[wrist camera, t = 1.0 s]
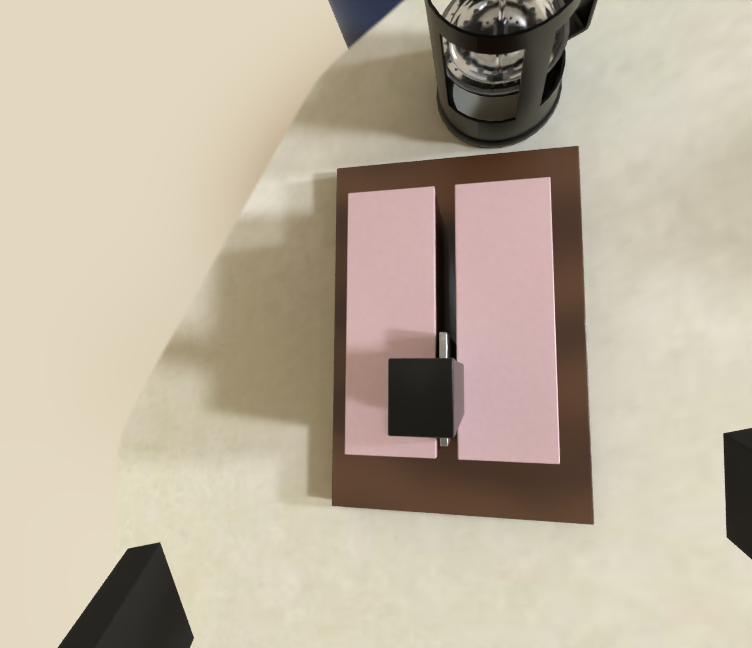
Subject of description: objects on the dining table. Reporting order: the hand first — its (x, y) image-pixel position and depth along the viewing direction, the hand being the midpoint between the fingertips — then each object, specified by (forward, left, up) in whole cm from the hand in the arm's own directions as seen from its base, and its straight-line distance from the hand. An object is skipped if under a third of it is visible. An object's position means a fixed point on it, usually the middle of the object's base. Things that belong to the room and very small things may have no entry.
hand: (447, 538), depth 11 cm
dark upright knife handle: (-3, -1, -23) cm, 23 cm away
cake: (-7, -1, -23) cm, 24 cm away
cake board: (-7, -1, -24) cm, 25 cm away
